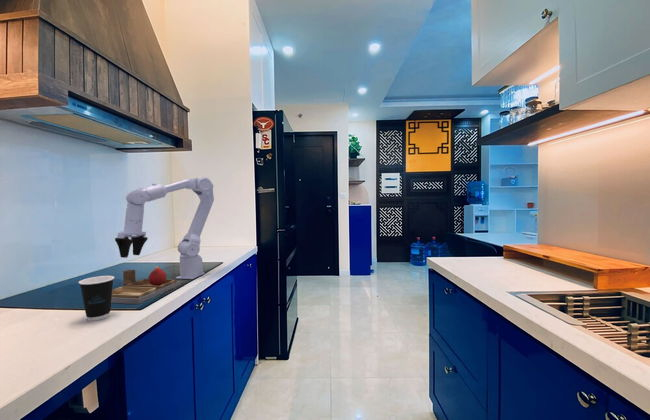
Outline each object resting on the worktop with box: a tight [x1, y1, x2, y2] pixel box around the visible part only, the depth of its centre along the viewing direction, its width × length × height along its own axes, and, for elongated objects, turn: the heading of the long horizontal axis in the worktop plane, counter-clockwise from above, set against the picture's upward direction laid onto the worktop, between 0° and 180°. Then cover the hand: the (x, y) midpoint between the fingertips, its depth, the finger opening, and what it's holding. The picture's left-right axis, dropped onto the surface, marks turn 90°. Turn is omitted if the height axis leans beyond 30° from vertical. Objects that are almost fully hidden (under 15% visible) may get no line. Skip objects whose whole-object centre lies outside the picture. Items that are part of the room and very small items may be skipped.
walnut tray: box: [122, 269, 177, 289], centre depth 108 cm, size 9×18×6 cm, turn 81°
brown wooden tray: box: [111, 280, 182, 305], centre depth 103 cm, size 21×15×2 cm
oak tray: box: [112, 285, 157, 298], centre depth 98 cm, size 9×18×6 cm, turn 81°
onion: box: [147, 265, 167, 286], centre depth 107 cm, size 6×6×8 cm
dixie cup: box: [78, 275, 115, 322], centre depth 81 cm, size 8×8×11 cm
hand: (130, 256), depth 108 cm, fingers open, 7 cm apart
